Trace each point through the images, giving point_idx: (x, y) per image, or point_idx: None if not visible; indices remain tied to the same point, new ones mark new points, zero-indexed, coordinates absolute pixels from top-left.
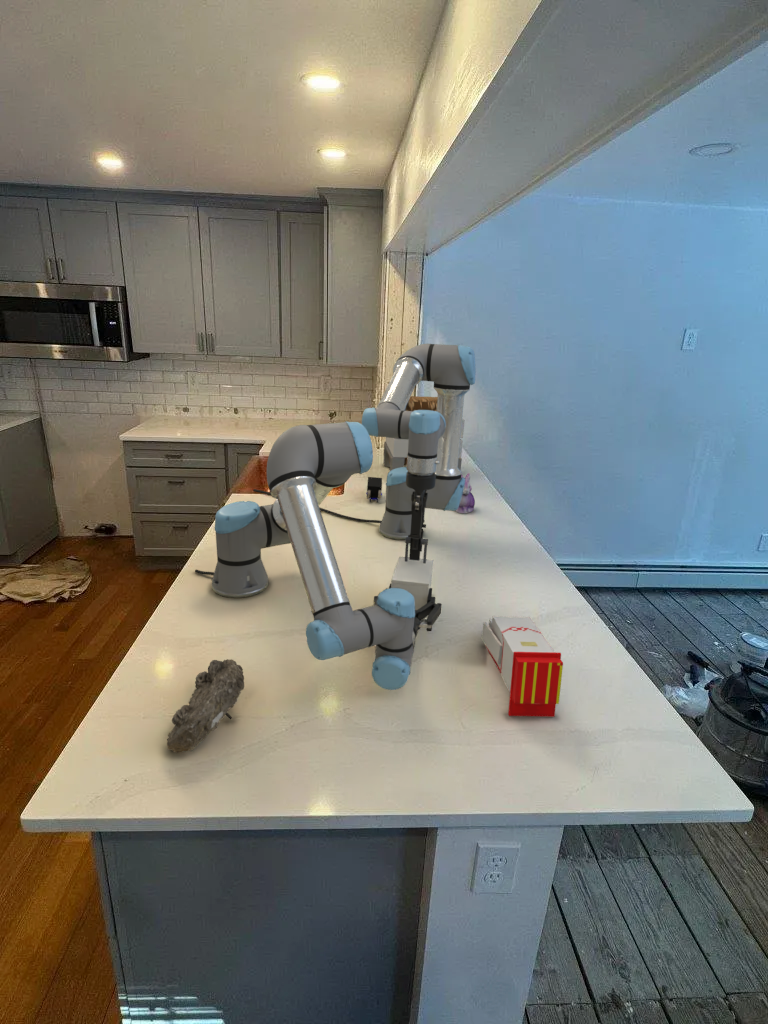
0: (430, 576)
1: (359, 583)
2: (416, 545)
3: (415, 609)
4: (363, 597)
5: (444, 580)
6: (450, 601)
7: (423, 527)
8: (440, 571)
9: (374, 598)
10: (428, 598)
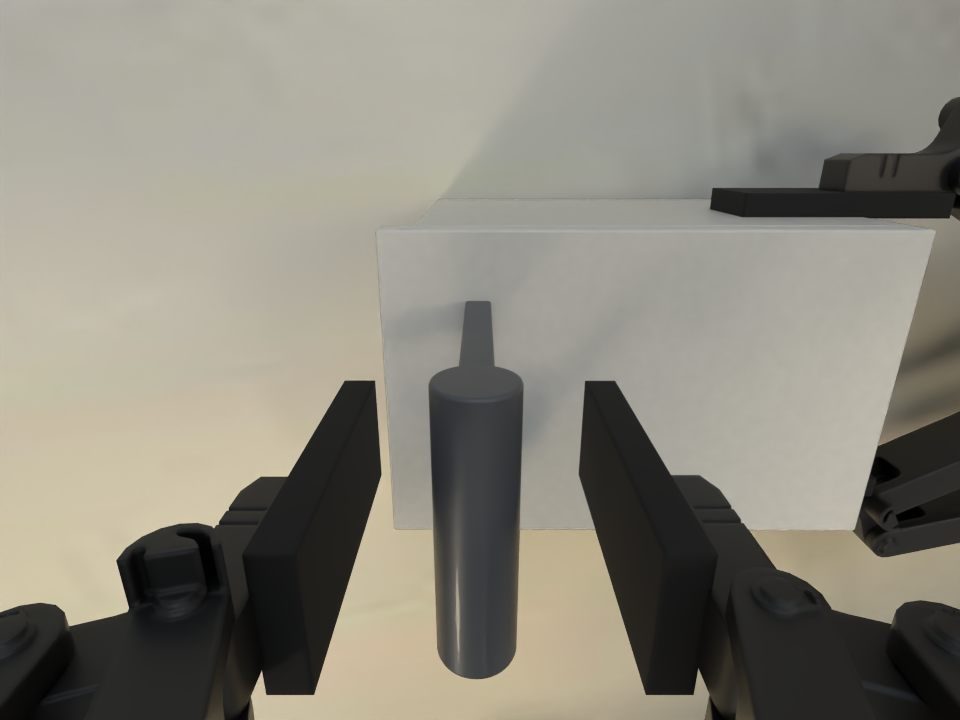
0: (768, 229)
1: (405, 578)
2: (739, 531)
3: None
4: (547, 538)
5: (190, 117)
6: (488, 54)
7: (224, 568)
8: (60, 157)
9: (906, 551)
10: (930, 209)
